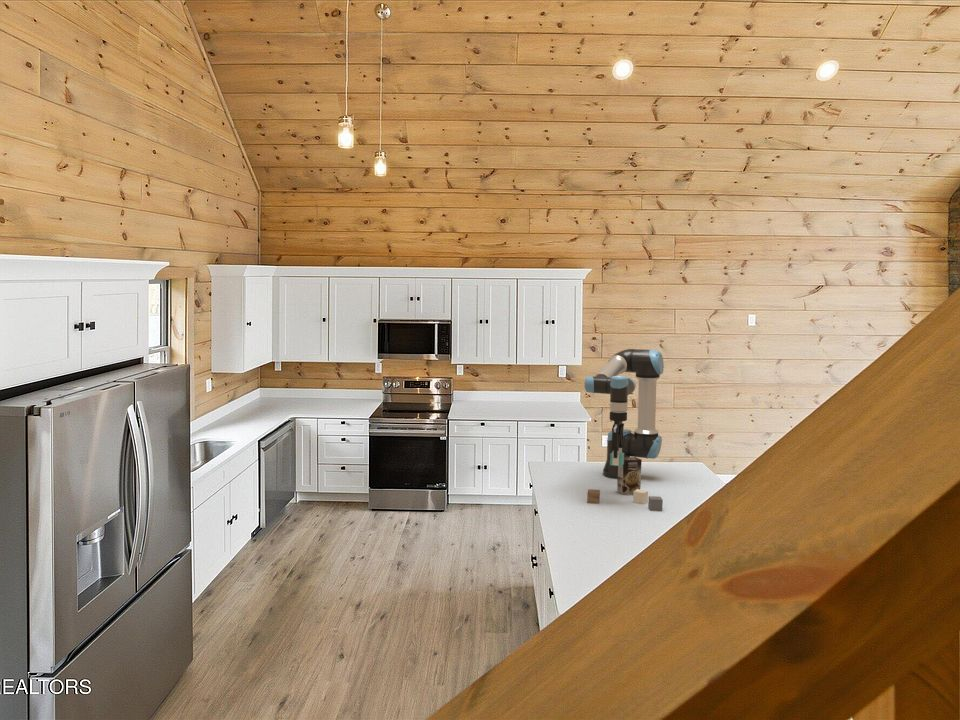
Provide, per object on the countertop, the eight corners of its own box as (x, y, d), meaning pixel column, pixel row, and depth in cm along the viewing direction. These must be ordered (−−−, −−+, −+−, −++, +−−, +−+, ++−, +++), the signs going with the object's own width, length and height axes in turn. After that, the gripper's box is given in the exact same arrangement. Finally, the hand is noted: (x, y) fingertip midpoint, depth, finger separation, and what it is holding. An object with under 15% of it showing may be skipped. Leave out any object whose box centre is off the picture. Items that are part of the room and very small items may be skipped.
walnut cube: (588, 500, 343) (588, 489, 343) (599, 500, 342) (599, 489, 342) (587, 503, 339) (587, 491, 338) (598, 503, 337) (599, 492, 337)
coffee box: (622, 494, 353) (624, 460, 352) (616, 491, 359) (617, 457, 358) (640, 493, 356) (642, 459, 354) (634, 490, 362) (635, 456, 360)
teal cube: (612, 462, 343) (612, 451, 342) (623, 464, 341) (624, 452, 340) (609, 465, 338) (610, 453, 338) (621, 466, 336) (621, 455, 336)
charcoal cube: (648, 507, 333) (648, 496, 332) (659, 507, 333) (660, 496, 332) (650, 510, 328) (650, 499, 327) (662, 511, 328) (662, 499, 327)
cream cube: (636, 500, 345) (637, 489, 345) (647, 501, 342) (648, 490, 342) (633, 502, 341) (633, 491, 340) (644, 504, 338) (644, 493, 338)
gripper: (614, 407, 347) (613, 458, 349) (605, 413, 330) (603, 467, 333) (631, 409, 344) (629, 460, 346) (622, 415, 328) (621, 468, 330)
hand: (616, 463), depth 340 cm, fingers closed on teal cube, 5 cm apart
